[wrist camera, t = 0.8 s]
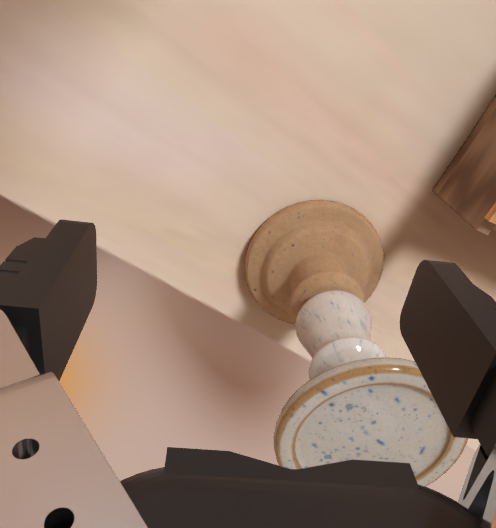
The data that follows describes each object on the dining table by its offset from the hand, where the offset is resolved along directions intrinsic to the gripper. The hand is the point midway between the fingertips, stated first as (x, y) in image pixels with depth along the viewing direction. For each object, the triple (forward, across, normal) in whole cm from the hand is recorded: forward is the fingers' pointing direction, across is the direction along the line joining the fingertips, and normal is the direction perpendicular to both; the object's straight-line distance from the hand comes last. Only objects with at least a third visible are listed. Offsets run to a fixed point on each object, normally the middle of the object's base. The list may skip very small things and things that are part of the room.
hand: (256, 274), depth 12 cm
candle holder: (+27, -8, +14) cm, 31 cm away
